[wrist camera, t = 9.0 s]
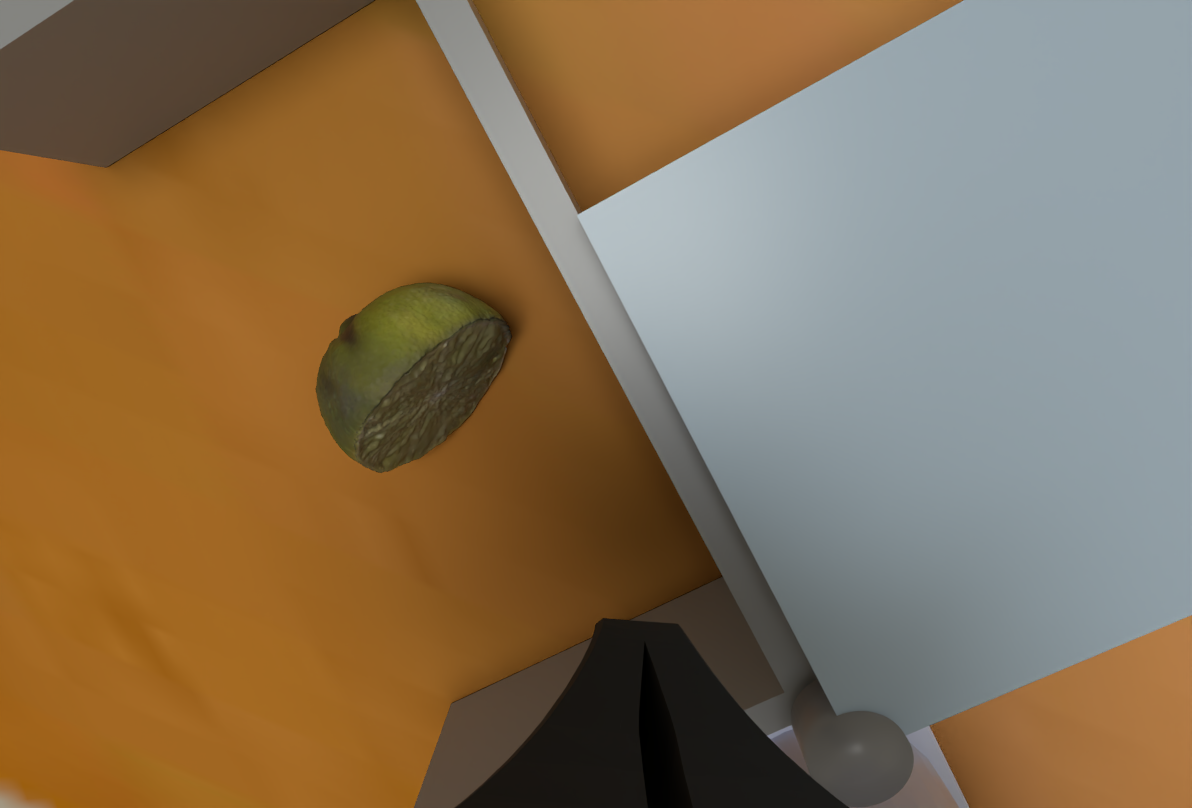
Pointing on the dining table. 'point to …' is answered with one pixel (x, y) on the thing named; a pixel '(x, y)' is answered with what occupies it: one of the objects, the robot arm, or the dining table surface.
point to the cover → (940, 356)
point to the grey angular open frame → (316, 3)
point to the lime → (408, 372)
